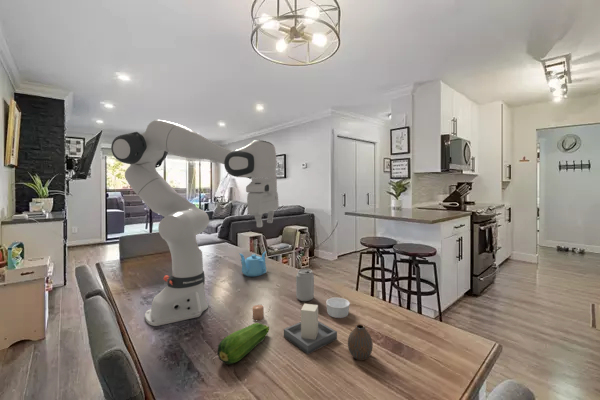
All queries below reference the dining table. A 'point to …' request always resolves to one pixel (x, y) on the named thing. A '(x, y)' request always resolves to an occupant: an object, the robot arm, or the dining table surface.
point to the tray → (310, 345)
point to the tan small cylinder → (258, 312)
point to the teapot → (253, 265)
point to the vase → (360, 343)
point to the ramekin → (338, 307)
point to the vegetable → (241, 342)
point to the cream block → (309, 321)
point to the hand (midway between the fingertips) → (265, 224)
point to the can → (305, 285)
